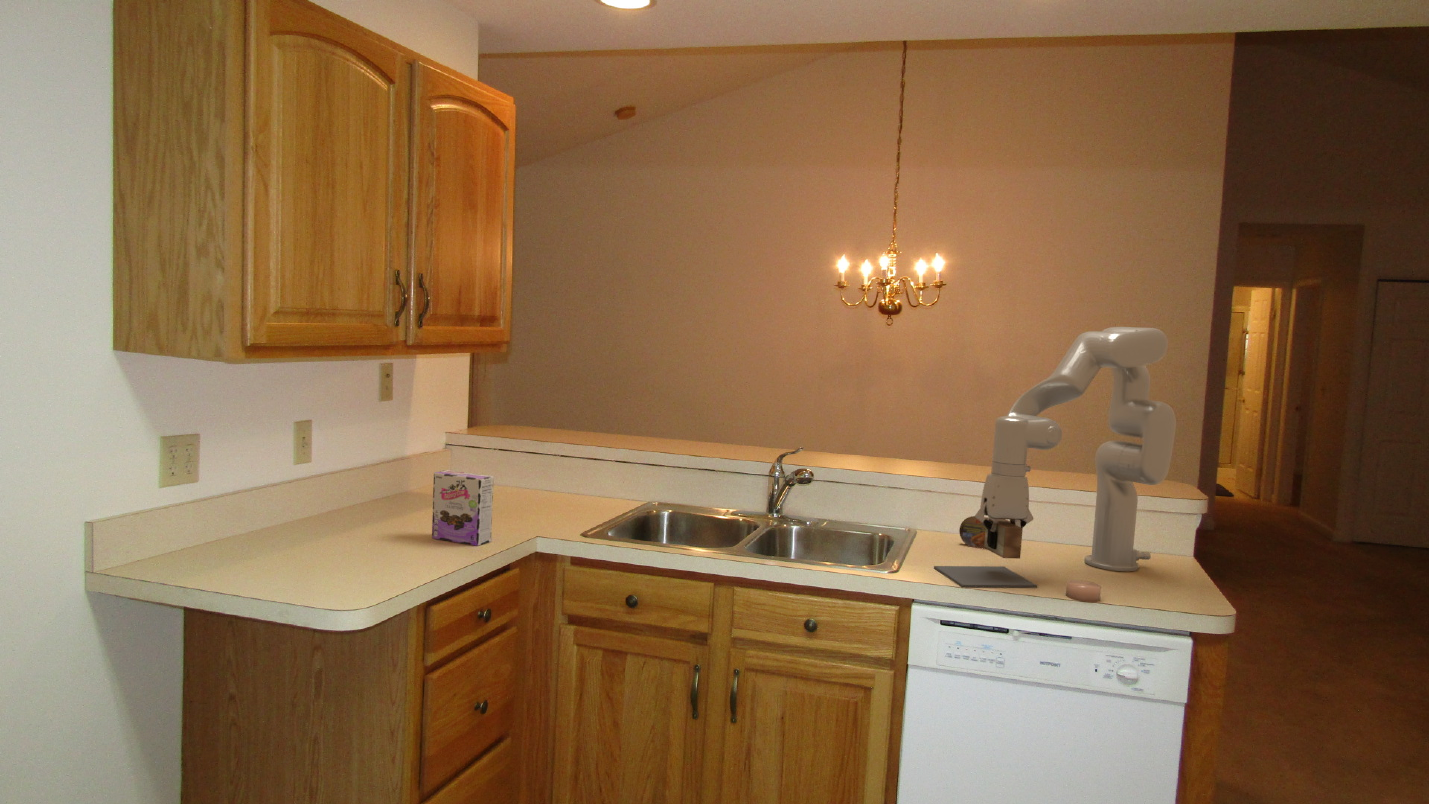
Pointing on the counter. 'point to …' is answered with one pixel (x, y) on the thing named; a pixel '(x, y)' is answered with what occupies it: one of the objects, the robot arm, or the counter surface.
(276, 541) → the counter surface
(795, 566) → the counter surface
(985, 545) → the slab
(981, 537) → the tin
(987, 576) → the mat
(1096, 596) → the pink round puck
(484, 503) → the candy box
